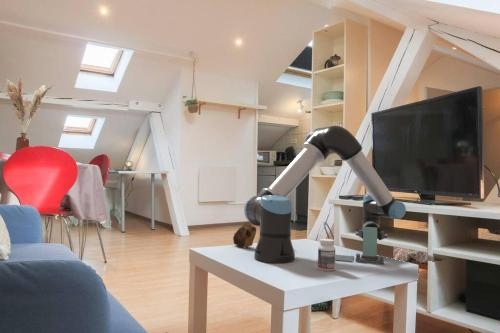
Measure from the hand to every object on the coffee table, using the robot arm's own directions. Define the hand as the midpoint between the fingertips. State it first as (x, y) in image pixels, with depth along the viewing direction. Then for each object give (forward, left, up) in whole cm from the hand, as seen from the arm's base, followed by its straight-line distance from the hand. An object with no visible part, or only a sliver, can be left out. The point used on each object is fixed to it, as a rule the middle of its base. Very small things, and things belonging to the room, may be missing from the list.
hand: (371, 238), depth 142 cm
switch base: (-1, -2, -8) cm, 9 cm away
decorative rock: (-53, +6, -9) cm, 54 cm away
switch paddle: (-1, -2, -6) cm, 7 cm away
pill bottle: (-15, -20, -9) cm, 26 cm away
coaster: (-12, 0, -8) cm, 14 cm away
